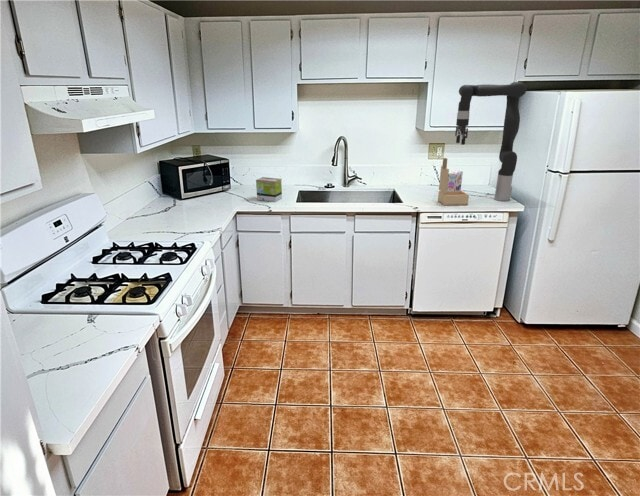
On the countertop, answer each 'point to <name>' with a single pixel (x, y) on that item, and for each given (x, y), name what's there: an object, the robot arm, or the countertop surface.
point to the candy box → (454, 181)
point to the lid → (444, 177)
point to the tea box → (269, 189)
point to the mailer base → (453, 198)
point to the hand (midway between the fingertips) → (460, 143)
